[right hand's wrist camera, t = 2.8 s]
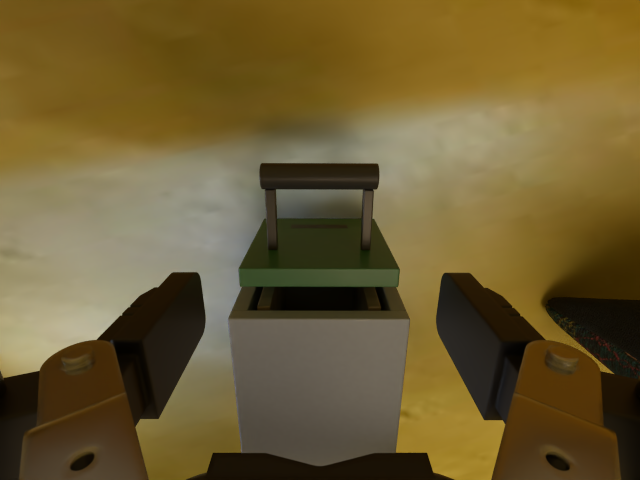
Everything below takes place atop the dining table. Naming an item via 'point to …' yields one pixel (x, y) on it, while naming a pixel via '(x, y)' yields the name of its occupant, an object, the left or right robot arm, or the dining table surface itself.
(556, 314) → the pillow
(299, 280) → the drawer
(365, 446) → the cabinet
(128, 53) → the dining table surface
